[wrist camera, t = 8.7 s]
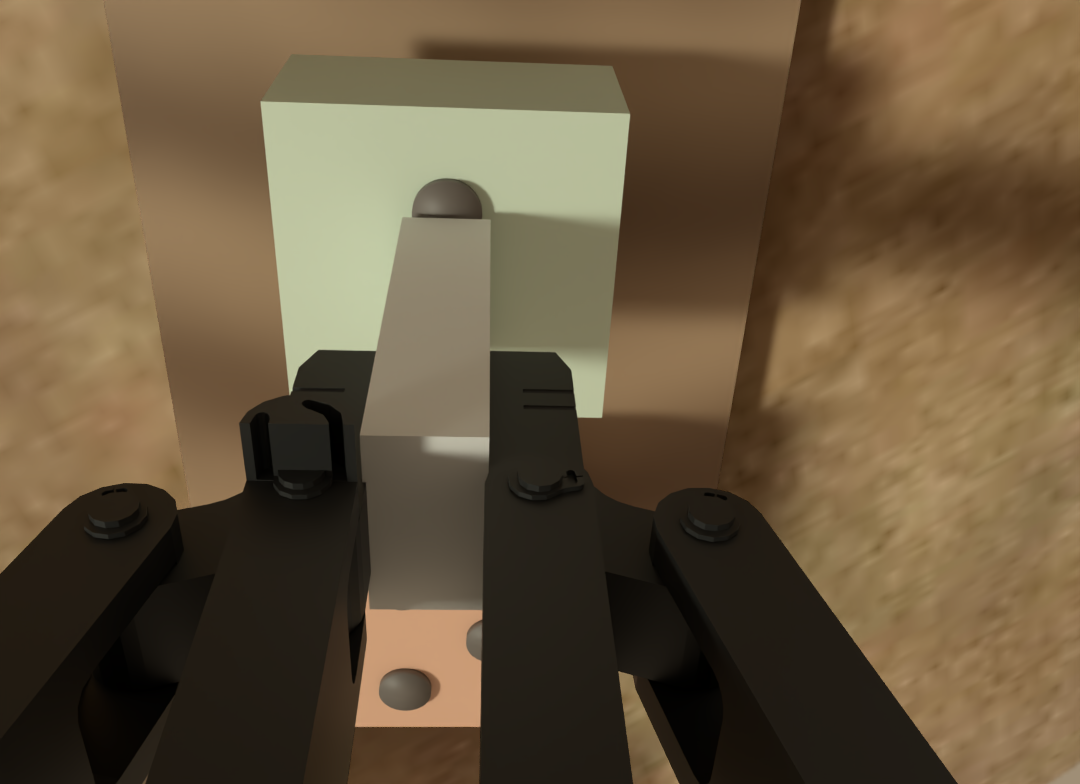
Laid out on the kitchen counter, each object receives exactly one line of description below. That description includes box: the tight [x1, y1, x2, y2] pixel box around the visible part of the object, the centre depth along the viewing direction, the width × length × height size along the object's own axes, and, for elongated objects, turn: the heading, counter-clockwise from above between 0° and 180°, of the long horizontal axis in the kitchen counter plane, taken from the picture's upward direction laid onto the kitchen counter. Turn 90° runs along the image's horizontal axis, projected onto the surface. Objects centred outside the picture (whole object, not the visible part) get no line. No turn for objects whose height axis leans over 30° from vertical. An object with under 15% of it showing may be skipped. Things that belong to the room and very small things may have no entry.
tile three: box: [355, 590, 482, 727], centre depth 24 cm, size 6×6×3 cm
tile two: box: [261, 54, 630, 418], centre depth 19 cm, size 6×6×3 cm
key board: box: [103, 0, 801, 511], centre depth 23 cm, size 28×14×2 cm, turn 177°
